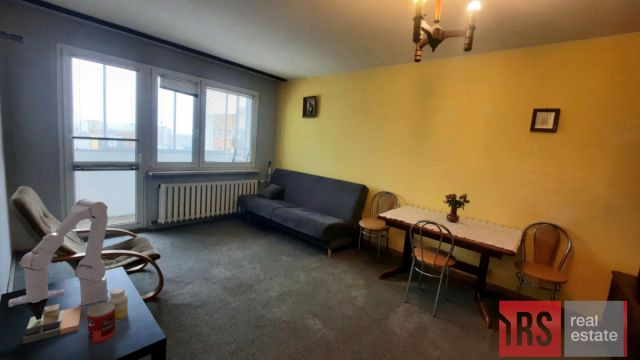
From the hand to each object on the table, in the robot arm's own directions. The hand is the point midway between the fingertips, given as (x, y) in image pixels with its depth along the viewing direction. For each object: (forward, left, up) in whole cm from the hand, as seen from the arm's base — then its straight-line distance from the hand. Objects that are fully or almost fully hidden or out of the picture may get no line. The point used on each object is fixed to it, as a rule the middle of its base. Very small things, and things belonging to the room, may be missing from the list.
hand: (39, 318), depth 106 cm
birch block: (-3, 0, -1) cm, 4 cm away
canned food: (-19, +18, -3) cm, 26 cm away
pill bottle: (-24, +8, -3) cm, 25 cm away
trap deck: (-5, +3, -3) cm, 6 cm away
